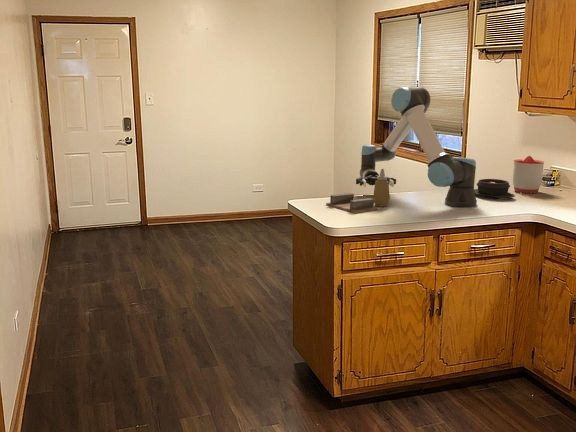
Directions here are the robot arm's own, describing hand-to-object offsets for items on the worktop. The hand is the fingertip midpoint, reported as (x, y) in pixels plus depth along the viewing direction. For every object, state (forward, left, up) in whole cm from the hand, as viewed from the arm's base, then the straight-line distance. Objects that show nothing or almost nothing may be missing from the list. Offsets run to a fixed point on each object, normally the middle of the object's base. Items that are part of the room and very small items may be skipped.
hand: (379, 184), depth 307 cm
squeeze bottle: (-3, +1, -10) cm, 11 cm away
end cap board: (+1, +16, -10) cm, 19 cm away
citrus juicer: (-16, -93, -10) cm, 95 cm away
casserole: (-16, -65, -10) cm, 67 cm away
